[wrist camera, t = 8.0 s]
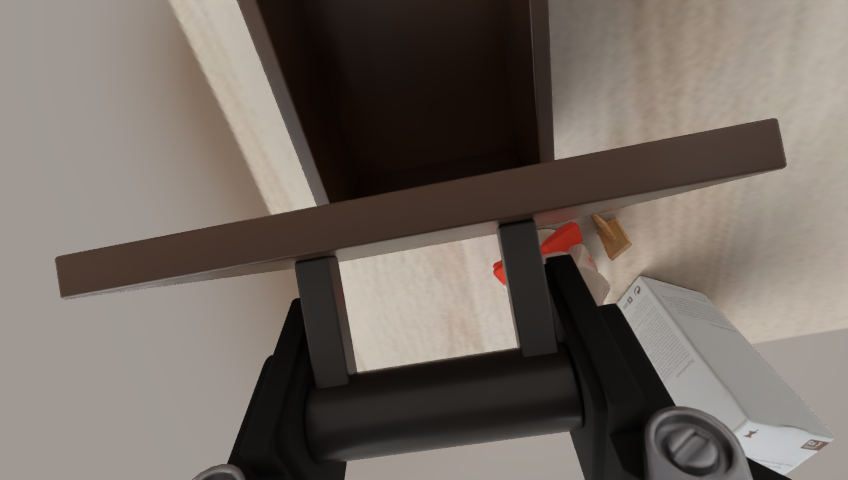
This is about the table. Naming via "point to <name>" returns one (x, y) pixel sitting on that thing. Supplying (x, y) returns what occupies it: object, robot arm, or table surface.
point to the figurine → (580, 252)
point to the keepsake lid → (419, 227)
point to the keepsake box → (406, 88)
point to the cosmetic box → (721, 374)
